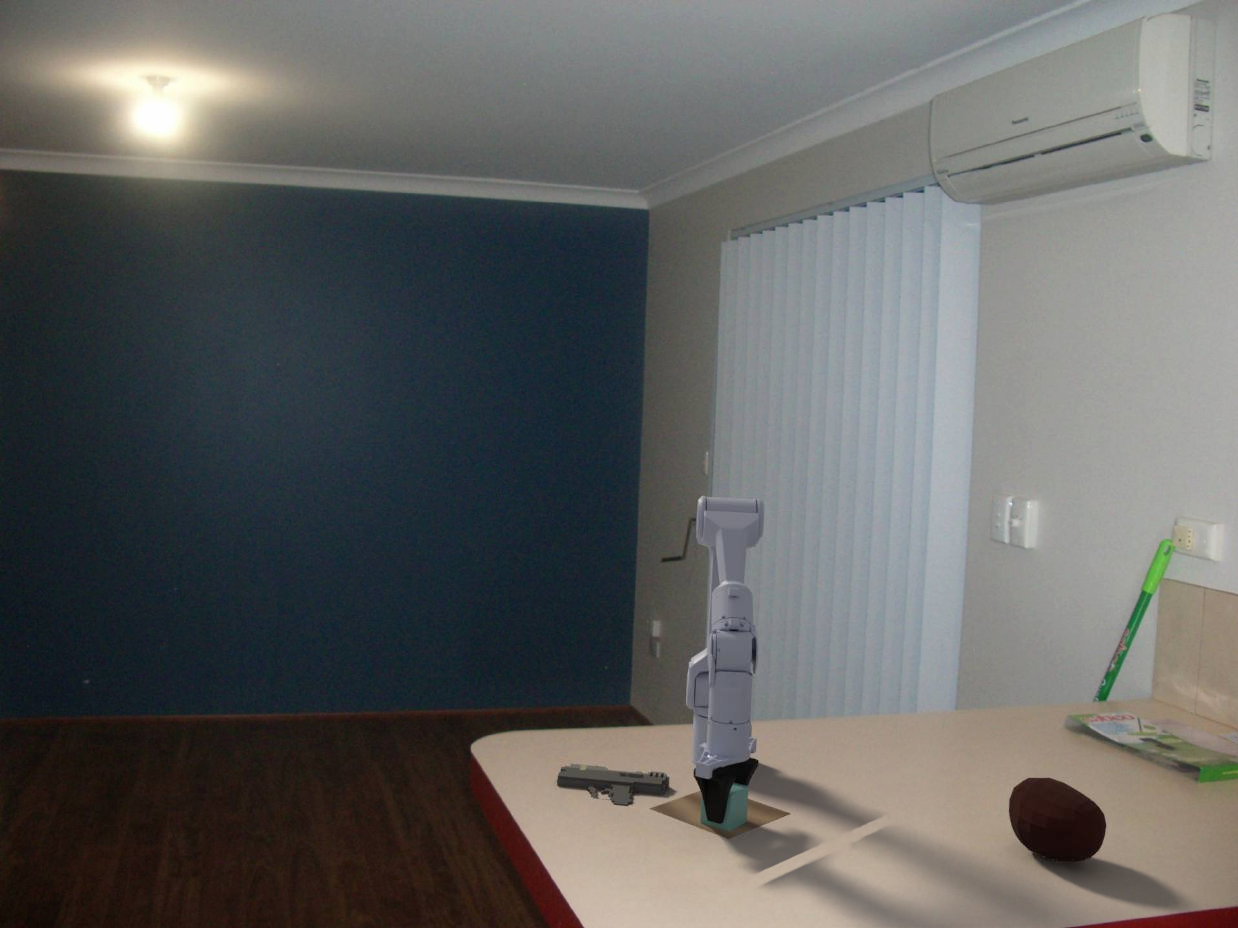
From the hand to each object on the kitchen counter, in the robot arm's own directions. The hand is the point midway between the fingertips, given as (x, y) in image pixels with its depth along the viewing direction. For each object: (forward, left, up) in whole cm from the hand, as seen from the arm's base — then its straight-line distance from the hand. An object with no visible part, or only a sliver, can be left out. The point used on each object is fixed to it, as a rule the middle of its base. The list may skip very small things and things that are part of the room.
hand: (723, 815), depth 164 cm
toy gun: (+3, -18, -3) cm, 19 cm away
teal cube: (0, 0, -1) cm, 1 cm away
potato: (-26, +35, -2) cm, 44 cm away
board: (-3, -3, -2) cm, 5 cm away
